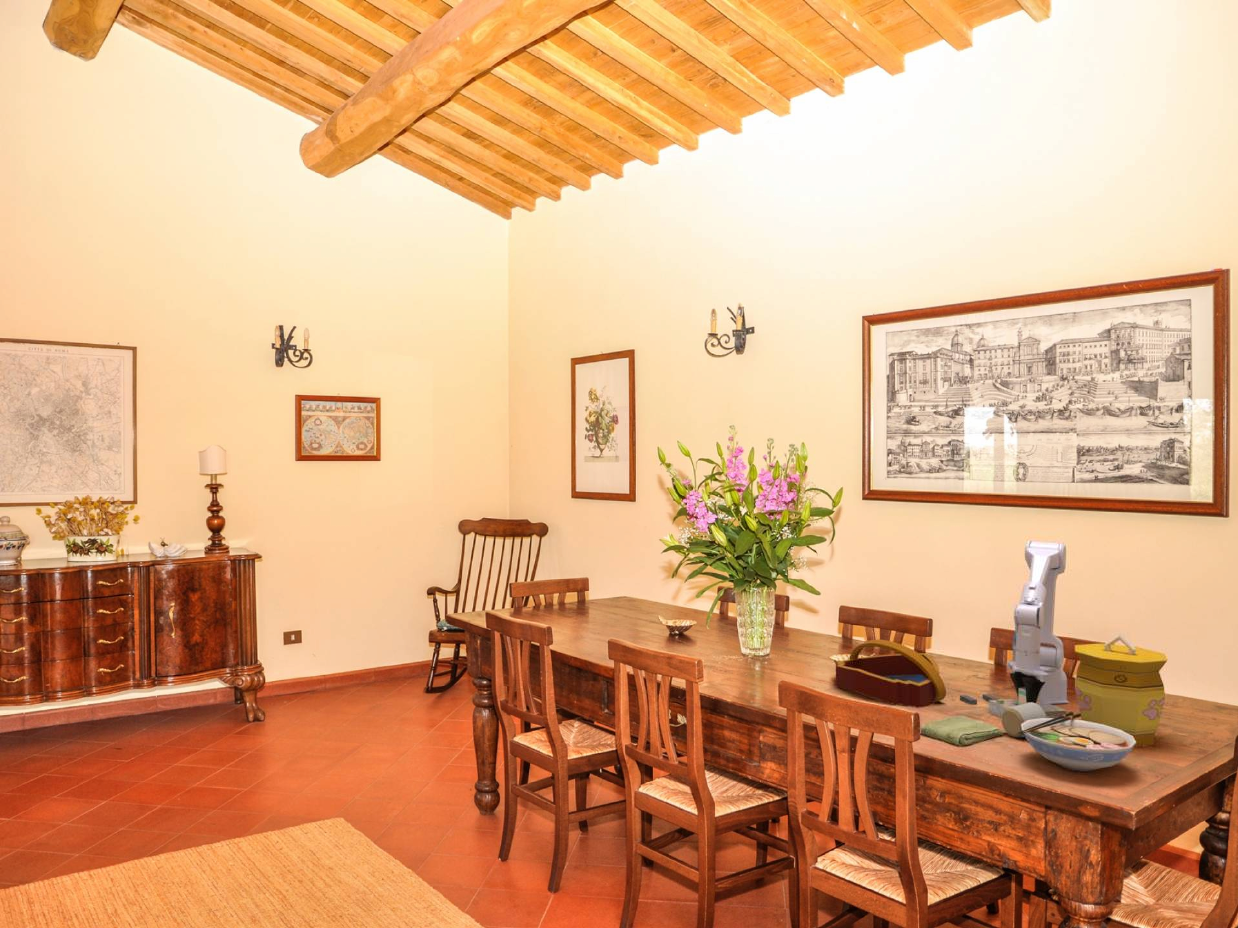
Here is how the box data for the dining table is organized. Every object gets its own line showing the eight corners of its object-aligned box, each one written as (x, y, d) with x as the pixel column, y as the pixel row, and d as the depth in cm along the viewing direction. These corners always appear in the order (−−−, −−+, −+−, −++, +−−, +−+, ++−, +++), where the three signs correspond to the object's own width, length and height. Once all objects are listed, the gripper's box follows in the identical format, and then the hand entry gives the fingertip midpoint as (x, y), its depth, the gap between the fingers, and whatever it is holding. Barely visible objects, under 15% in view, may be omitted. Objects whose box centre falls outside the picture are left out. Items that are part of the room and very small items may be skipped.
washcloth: (1006, 737, 225) (1006, 724, 225) (961, 749, 215) (961, 735, 215) (959, 723, 236) (959, 711, 236) (914, 734, 226) (914, 721, 226)
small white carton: (1031, 711, 243) (1032, 687, 243) (1039, 715, 240) (1039, 690, 240) (1018, 712, 242) (1018, 687, 242) (1025, 715, 239) (1025, 690, 239)
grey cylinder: (998, 733, 227) (999, 701, 227) (1022, 729, 230) (1023, 698, 230) (1034, 746, 217) (1035, 714, 217) (1058, 742, 221) (1060, 710, 221)
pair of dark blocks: (988, 698, 259) (989, 693, 259) (999, 703, 254) (999, 698, 254) (959, 699, 257) (960, 695, 257) (970, 704, 252) (970, 700, 252)
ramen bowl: (1099, 793, 187) (1100, 753, 187) (996, 761, 206) (996, 725, 206) (1157, 770, 202) (1158, 732, 202) (1056, 742, 220) (1056, 707, 220)
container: (1090, 718, 241) (1092, 622, 240) (1181, 738, 225) (1183, 635, 224) (1054, 734, 227) (1056, 632, 226) (1148, 756, 211) (1151, 647, 210)
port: (1035, 709, 248) (1035, 695, 248) (1065, 722, 236) (1066, 708, 236) (988, 712, 245) (988, 698, 245) (1017, 725, 233) (1017, 710, 233)
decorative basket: (816, 689, 275) (811, 640, 273) (890, 666, 288) (886, 619, 286) (898, 722, 245) (894, 667, 243) (977, 694, 258) (973, 642, 256)
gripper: (997, 645, 247) (996, 696, 247) (1032, 657, 233) (1031, 711, 233) (1020, 644, 248) (1019, 694, 248) (1057, 656, 234) (1055, 709, 234)
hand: (1026, 702), depth 241 cm, fingers closed on small white carton, 3 cm apart
